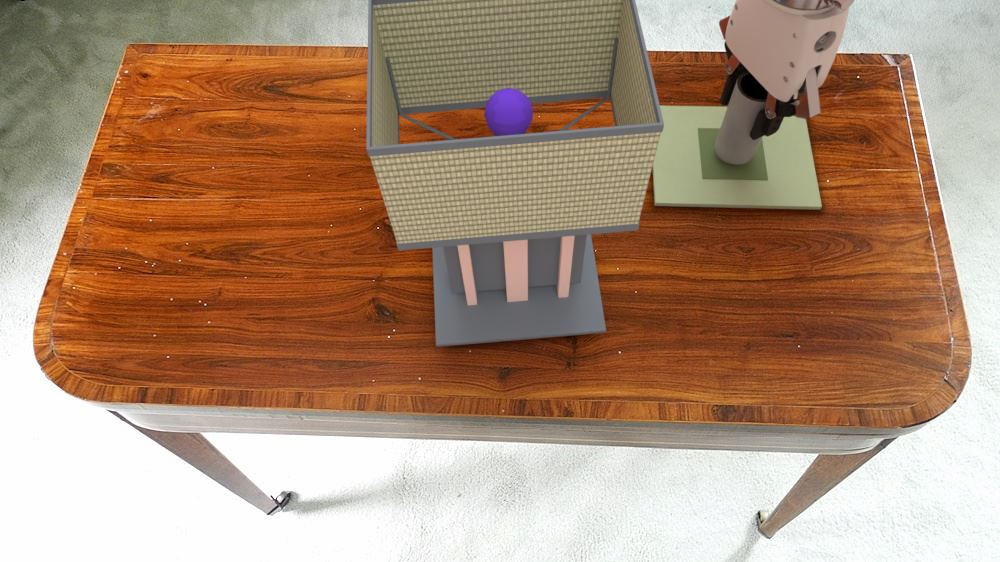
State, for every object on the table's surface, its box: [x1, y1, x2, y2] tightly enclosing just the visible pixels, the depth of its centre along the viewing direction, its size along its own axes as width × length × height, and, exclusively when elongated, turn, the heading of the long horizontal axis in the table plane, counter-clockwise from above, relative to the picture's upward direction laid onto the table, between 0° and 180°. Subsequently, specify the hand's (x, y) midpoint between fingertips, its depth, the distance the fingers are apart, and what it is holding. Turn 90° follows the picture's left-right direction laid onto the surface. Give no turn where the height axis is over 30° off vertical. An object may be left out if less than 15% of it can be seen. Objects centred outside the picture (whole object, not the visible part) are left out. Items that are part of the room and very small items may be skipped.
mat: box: [652, 105, 823, 211], centre depth 83 cm, size 18×14×1 cm
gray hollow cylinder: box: [715, 70, 768, 165], centre depth 77 cm, size 4×4×10 cm
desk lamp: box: [366, 0, 664, 348], centre depth 62 cm, size 18×14×33 cm
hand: (748, 114), depth 77 cm, fingers closed on gray hollow cylinder, 4 cm apart
